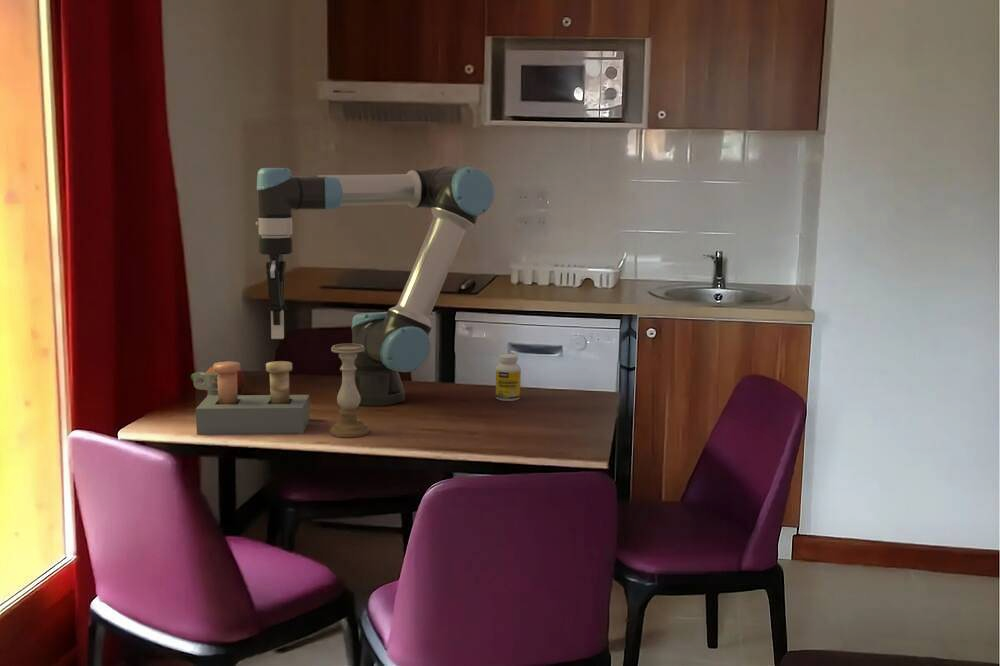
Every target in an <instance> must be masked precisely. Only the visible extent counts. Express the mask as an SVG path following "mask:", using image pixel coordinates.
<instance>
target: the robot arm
mask: <svg viewBox="0 0 1000 666" xmlns="http://www.w3.org/2000/svg"><path fill="white" fill-rule="evenodd" d="M256 193H257V195H256V196H257V211H258V212H257V216H258V218H257V219H258V221H255V226H258V235H260V237H259V238H258V252H259V254H261V255H268V261H267V262H265V264H266V265H265V266H266V267H265V269H266V277H267V289H268V303H269V304H268V308H267V312H270V332H271V333H270V334H271V335H270V337H271V339H272V340H284V338H285V317H284V316H285V312H284V310H287V308H288V306H287V305H286V306H285V304H286V302H285V285H286V284H285V280H286V268H287V263H286V261H285V260H284V256H283V255H290V254H292V253H293V238H292V237H291V235H293V214H292V213H293V212H292V211H293V210H295V211H298V210H311V211H312V210H314V211H315V210H324V211H328V210H336V209H338V208H340V206H374V205H375V206H377V205H382V206H383V205H408V206H409V207H410V208H413V209H414V208H415V209H416V208H421V209H430V210H431V213H432V215H433V219H432V221H431V224H430V226H429V229H428V230H427V234H426V235H425V238H424V241H423V243H422V246H421V248H420V250H419V252H418V255H417V257H416V259H415V261H414V264H413V267H412V269H411V271H410V274H409V277H408V279H407V281H406V283H405V285H404V288H403V290H402V293H401V295H400V297H399V300H398V302H397V304H396V305H395V306H393V307H390V308H388V310H387V311H383V312H381V311H379V312H367V313H365V312H364V313H357V314H355V315H353V317H352V322H351V324H352V325H351V334H352V336H351V339H352V343H351V344H361V345H363V346H364V347H365V350H364V351H363V352H359V353H357V358H356V359H355V360H354V365H355V366H356V368H357V369H356V370H355V373H354V376H355V384H356V387H357V390H358V392H359V394H360V397H361V401H360V404H359V405H358V406H366V407H367V406H368V407H369V406H370V407H371V406H372V407H376V406H377V407H378V406H390V405H395V404H398V403H401V402H403V401H405V399H406V398H405V397H406V396H405V395H406V394H405V393H406V392H405V388H404V385H403V382H402V379H401V376H400V373H399V372H401V373H409V372H414V371H415V370H418V369H419V368H421V366H423V365H424V364H425V362H426V361H427V360H428V358H429V356H430V354H431V350H432V348H431V345H432V344H431V342H430V337H429V335H430V333H431V330H432V324H431V322H430V317H431V315H432V312H433V310H434V308H435V307H434V306H435V305H436V302H437V300H438V298H439V295H440V293H441V291H442V288H443V286H444V283H445V281H446V279H447V276H448V273H449V272H450V268H451V267H452V264H453V261H454V260H455V257H456V255H457V253H458V250H459V248H460V245H461V242H462V240H463V238H464V235H465V233H466V231H468V230H471V229H473V228H474V227H475V225H476V223H477V220H478V218H479V216H480V215H482V214H483V215H484V214H485V213H486V212H487V211H488V210H490V208H491V207H492V204H493V202H494V200H495V188H494V185H493V182H492V180H491V178H490V176H489V174H488V173H486V172H485V171H483V170H482V169H480V168H477V167H473V166H469V165H465V166H447V165H446V166H439V167H433V168H427V169H426V168H425V169H412V170H411V169H410V170H409V171H408V172H407V173H404V174H403V173H401V174H400V173H399V174H398V173H396V174H394V173H393V174H324V175H323V174H321V175H317V174H316V175H296V174H292V171H291V169H289V168H288V167H287V168H285V167H261V168H260V169H259V170H258V171H257V177H256Z"/></svg>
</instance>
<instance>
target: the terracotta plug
mask: <svg viewBox="0 0 1000 666" xmlns="http://www.w3.org/2000/svg"><path fill="white" fill-rule="evenodd" d="M226 361H227V362H221V361H219V362H218V361H217V362H214V363H213V364H212V365H213V369H214V372H217V380H218V404H238V395H239V394H238V393H237V371H240V370H241V363H240V362H239V361H228V360H226Z"/></svg>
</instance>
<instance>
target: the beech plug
mask: <svg viewBox="0 0 1000 666" xmlns="http://www.w3.org/2000/svg"><path fill="white" fill-rule="evenodd" d="M265 371H266V372H267V373H269V392H270V393H269V395H270V402H271V404H290V395H291V393H290V372H291V371H293V362H291V361H285V360H278V361H269V362H267V363H265Z"/></svg>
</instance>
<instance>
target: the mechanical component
mask: <svg viewBox="0 0 1000 666" xmlns="http://www.w3.org/2000/svg"><path fill="white" fill-rule="evenodd" d="M190 380H192V382H193V387H194V388H195V389H196V390H201V391H202V390H205V391H207V390H208V392H207V393H206V397H207V396H208V395H218V394H217V390H218V380H217V373H209V372H207V371H205V372H204V371H197V372H195V373H191V375H190Z"/></svg>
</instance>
